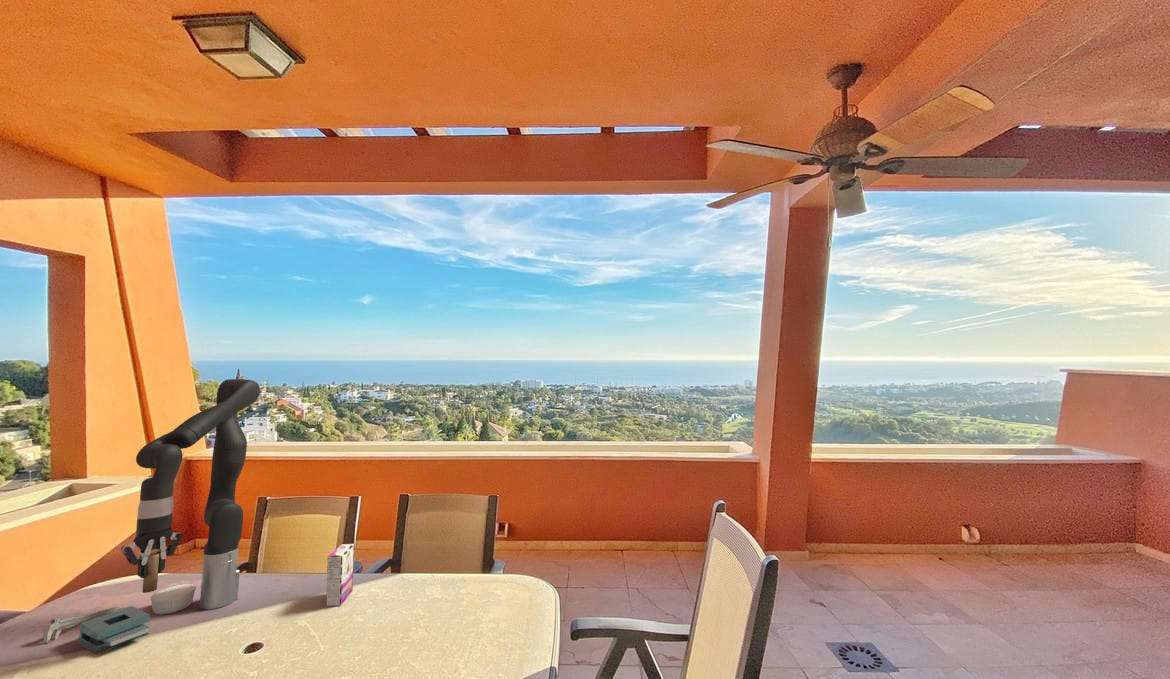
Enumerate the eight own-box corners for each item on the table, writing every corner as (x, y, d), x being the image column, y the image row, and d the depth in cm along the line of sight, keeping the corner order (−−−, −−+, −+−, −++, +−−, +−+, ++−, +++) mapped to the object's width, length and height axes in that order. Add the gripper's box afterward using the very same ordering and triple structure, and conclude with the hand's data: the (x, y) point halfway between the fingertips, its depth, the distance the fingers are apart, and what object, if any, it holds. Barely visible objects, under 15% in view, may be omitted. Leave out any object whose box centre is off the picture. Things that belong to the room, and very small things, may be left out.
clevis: (130, 624, 138) (131, 606, 138) (154, 637, 131) (156, 617, 132) (78, 643, 128) (80, 623, 129) (102, 658, 121) (104, 636, 122)
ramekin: (172, 599, 154) (173, 583, 155) (204, 599, 154) (205, 583, 154) (139, 616, 143) (140, 599, 143) (173, 617, 143) (174, 599, 143)
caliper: (46, 645, 128) (49, 621, 128) (43, 644, 128) (45, 621, 129) (122, 608, 148) (124, 588, 149) (119, 608, 148) (120, 588, 149)
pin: (153, 587, 131) (156, 551, 132) (159, 589, 130) (161, 553, 131) (140, 591, 129) (143, 555, 129) (145, 593, 127) (148, 557, 128)
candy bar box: (337, 591, 160) (340, 543, 161) (352, 590, 160) (355, 543, 162) (324, 607, 149) (327, 556, 150) (340, 606, 149) (343, 555, 151)
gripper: (178, 505, 139) (174, 563, 138) (116, 518, 126) (111, 582, 125) (191, 508, 136) (187, 567, 134) (129, 522, 123) (124, 587, 122)
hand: (150, 574), depth 130 cm, fingers closed on pin, 3 cm apart
